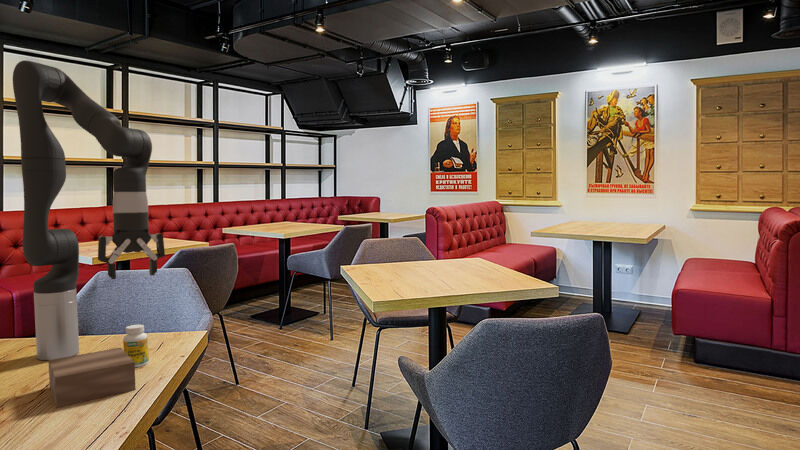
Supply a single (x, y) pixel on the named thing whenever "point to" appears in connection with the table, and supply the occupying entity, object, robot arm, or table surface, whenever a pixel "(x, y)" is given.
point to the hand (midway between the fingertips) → (133, 277)
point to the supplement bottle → (136, 345)
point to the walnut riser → (91, 376)
